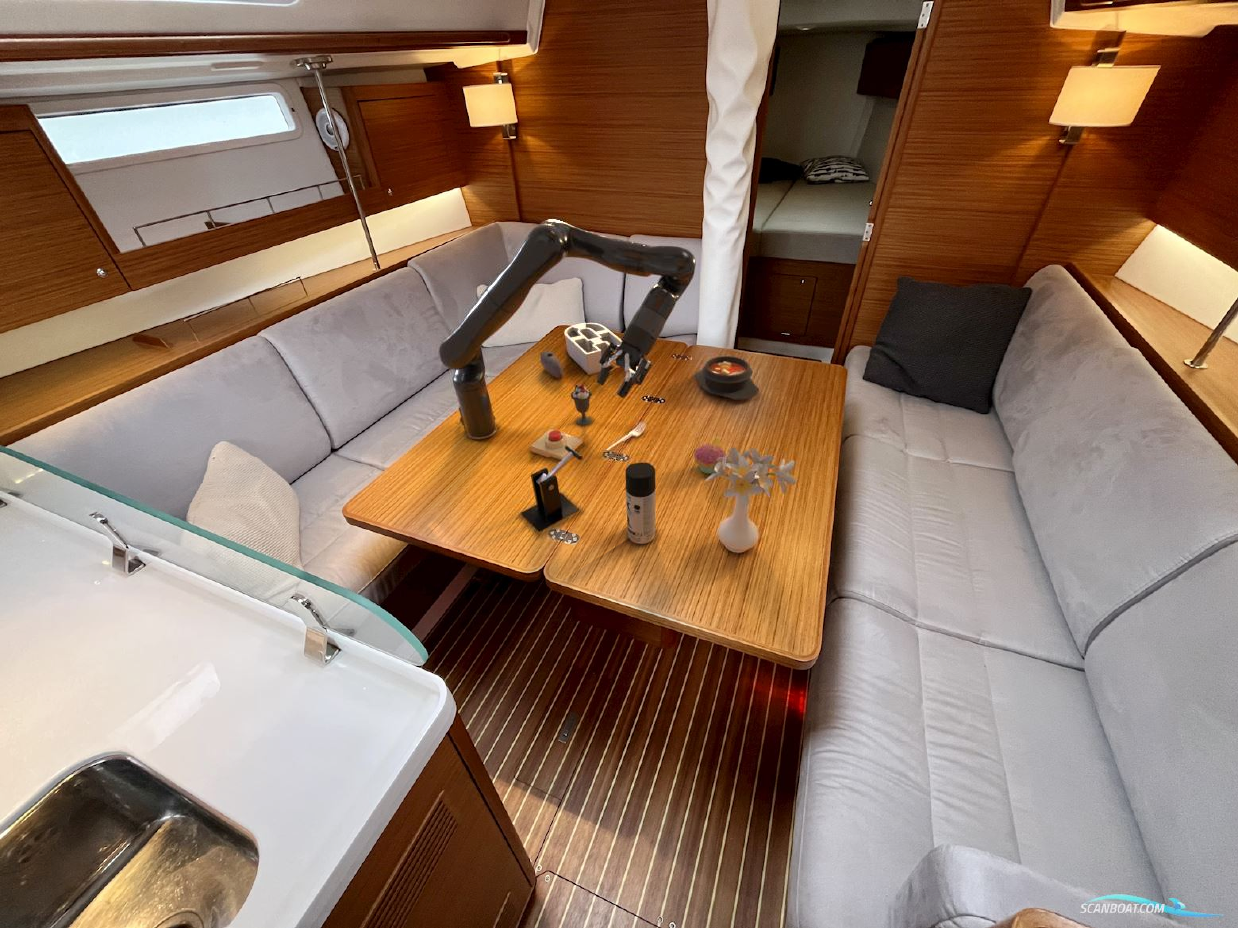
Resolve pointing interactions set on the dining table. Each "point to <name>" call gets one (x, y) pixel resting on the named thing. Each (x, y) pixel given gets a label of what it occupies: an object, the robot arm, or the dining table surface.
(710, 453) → the cupcake
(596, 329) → the white compartment organizer
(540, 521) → the bracket
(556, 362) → the perforated stone tool
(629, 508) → the spray can
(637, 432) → the fork
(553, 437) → the button
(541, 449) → the button housing
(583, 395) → the sundae
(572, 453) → the lever
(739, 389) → the casserole
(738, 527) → the flower vase
